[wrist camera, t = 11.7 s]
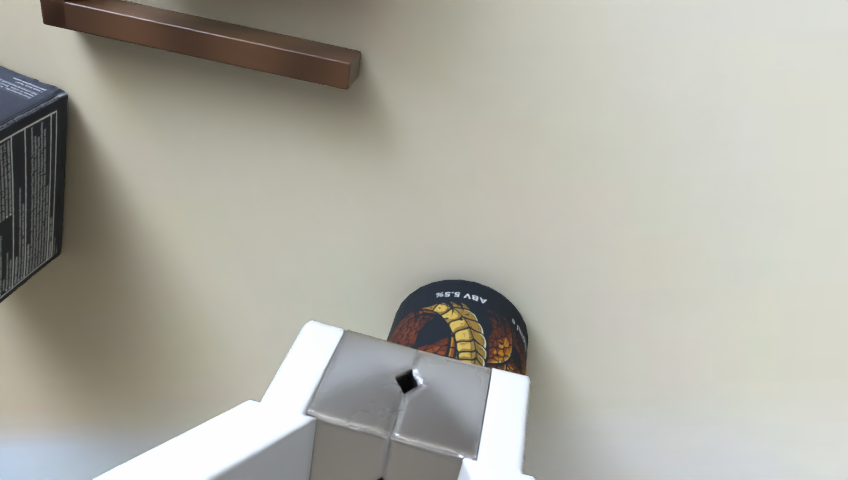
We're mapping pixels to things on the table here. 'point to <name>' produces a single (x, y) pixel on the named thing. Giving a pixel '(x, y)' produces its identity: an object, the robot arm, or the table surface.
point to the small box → (30, 176)
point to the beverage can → (463, 325)
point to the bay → (207, 39)
